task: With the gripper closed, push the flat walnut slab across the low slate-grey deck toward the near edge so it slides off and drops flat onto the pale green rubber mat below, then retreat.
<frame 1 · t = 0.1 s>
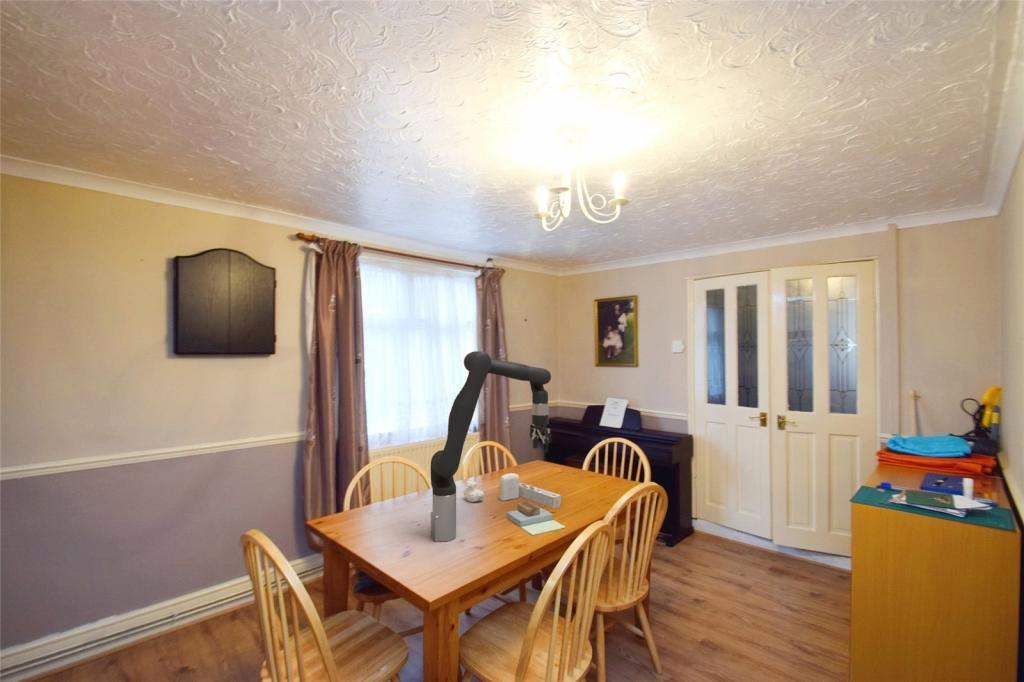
hand: (540, 450, 195), 29 cm above the table, fingers open, 8 cm apart
bust: (472, 501, 214), on the table
deck: (529, 519, 191), on the table
block: (528, 512, 192), point 2 cm above the table, touching deck
photo printer: (509, 499, 218), on the table
box: (536, 500, 216), on the table
mat: (543, 527, 181), on the table
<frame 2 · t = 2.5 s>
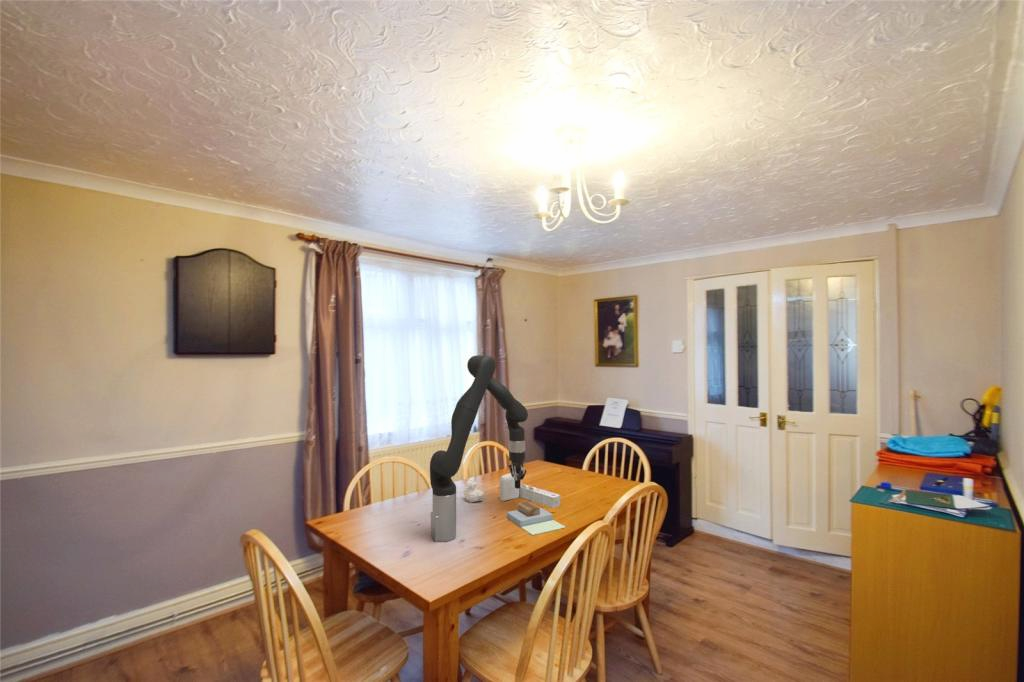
hand: (517, 488, 201), 10 cm above the table, fingers closed
nothing on the table moved.
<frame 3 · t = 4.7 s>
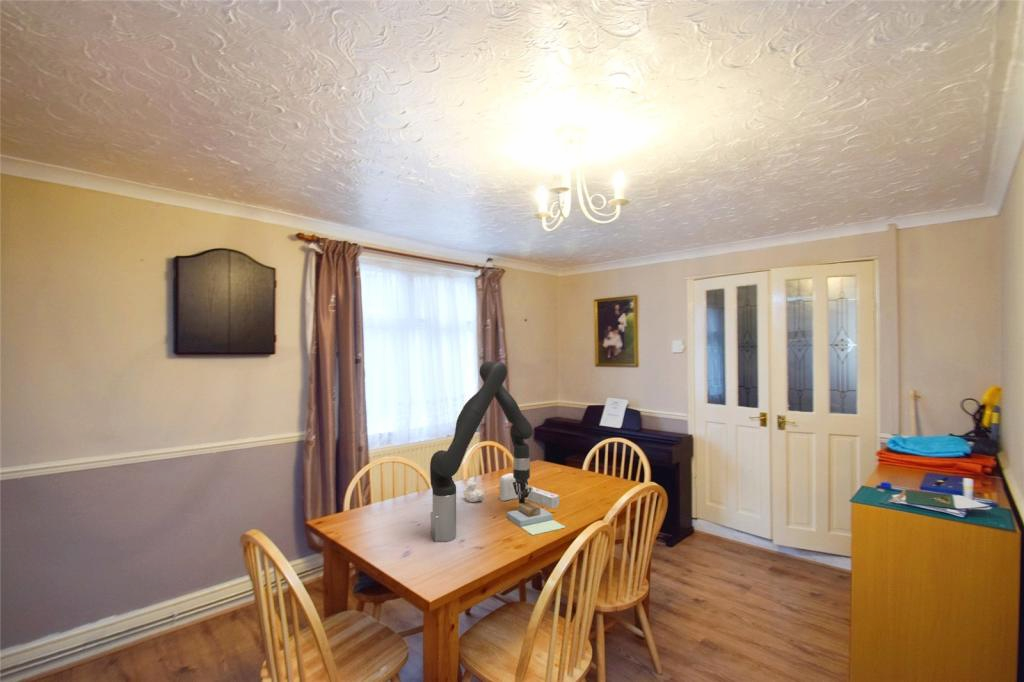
hand: (521, 506, 197), 4 cm above the table, fingers closed
block: (528, 512, 191), point 3 cm above the table, touching gripper
everything else where it was.
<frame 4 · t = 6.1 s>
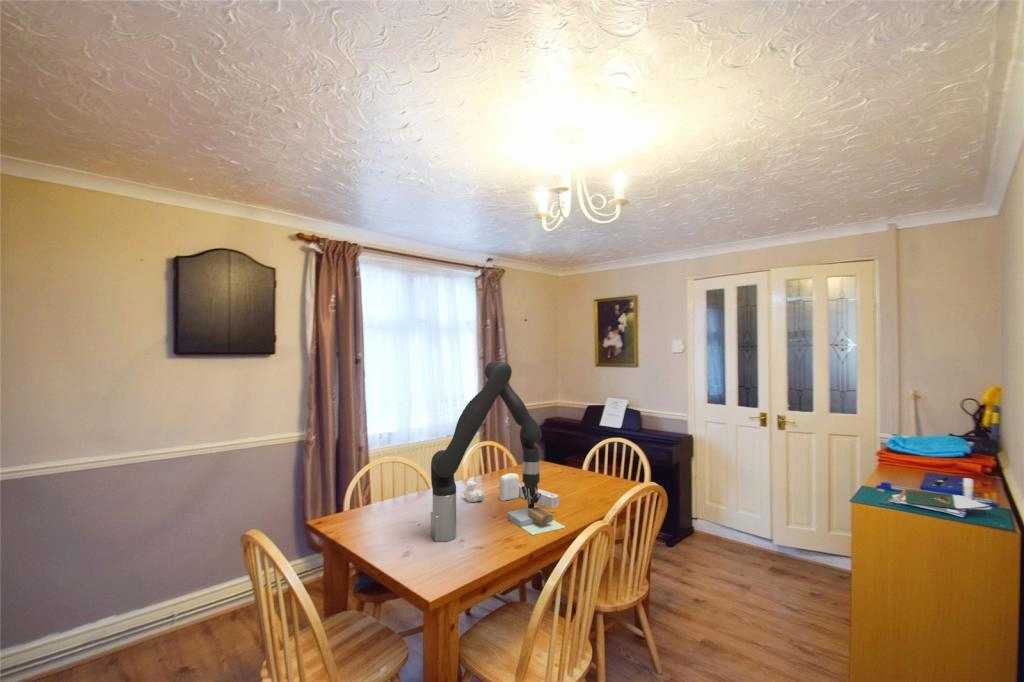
hand: (531, 511, 190), 4 cm above the table, fingers closed
block: (539, 518, 185), point 2 cm above the table, tilted 6°, touching deck, gripper
everything else where it was.
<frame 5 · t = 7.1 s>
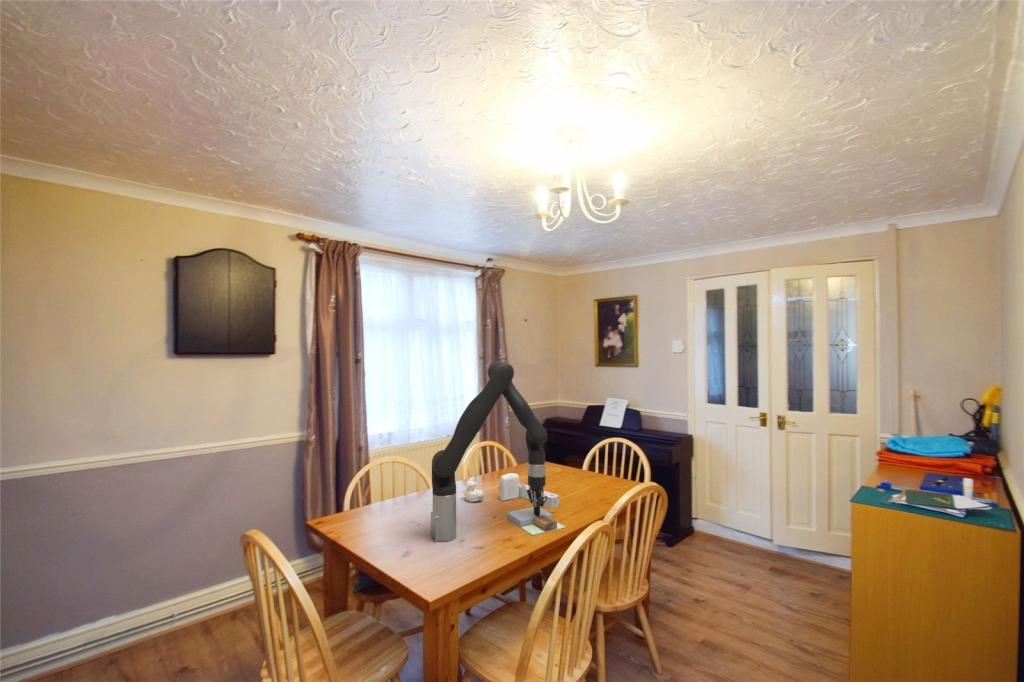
hand: (536, 515, 186), 4 cm above the table, fingers closed
block: (544, 526, 181), resting on mat
everything else where it was.
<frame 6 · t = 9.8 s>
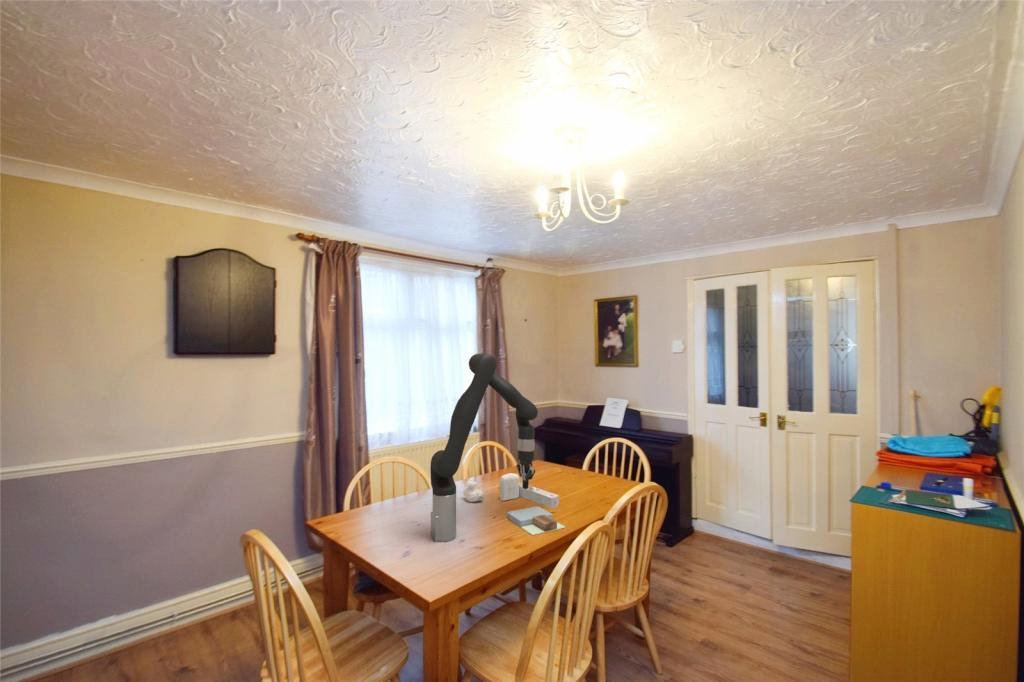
hand: (525, 488, 194), 12 cm above the table, fingers closed
nothing on the table moved.
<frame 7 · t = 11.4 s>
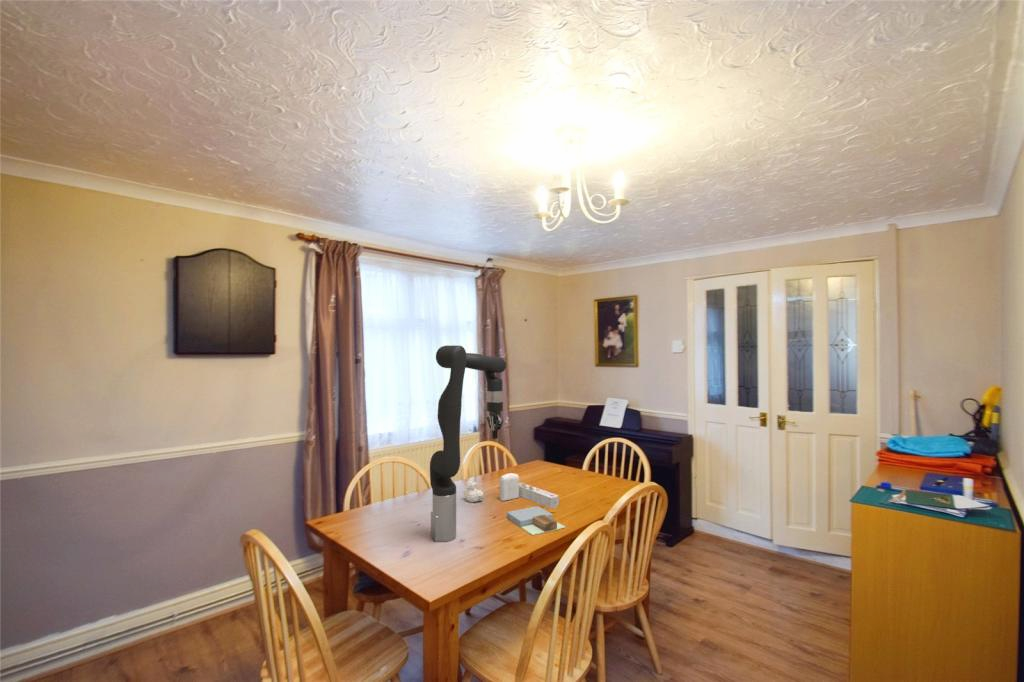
hand: (494, 438, 201), 33 cm above the table, fingers closed
nothing on the table moved.
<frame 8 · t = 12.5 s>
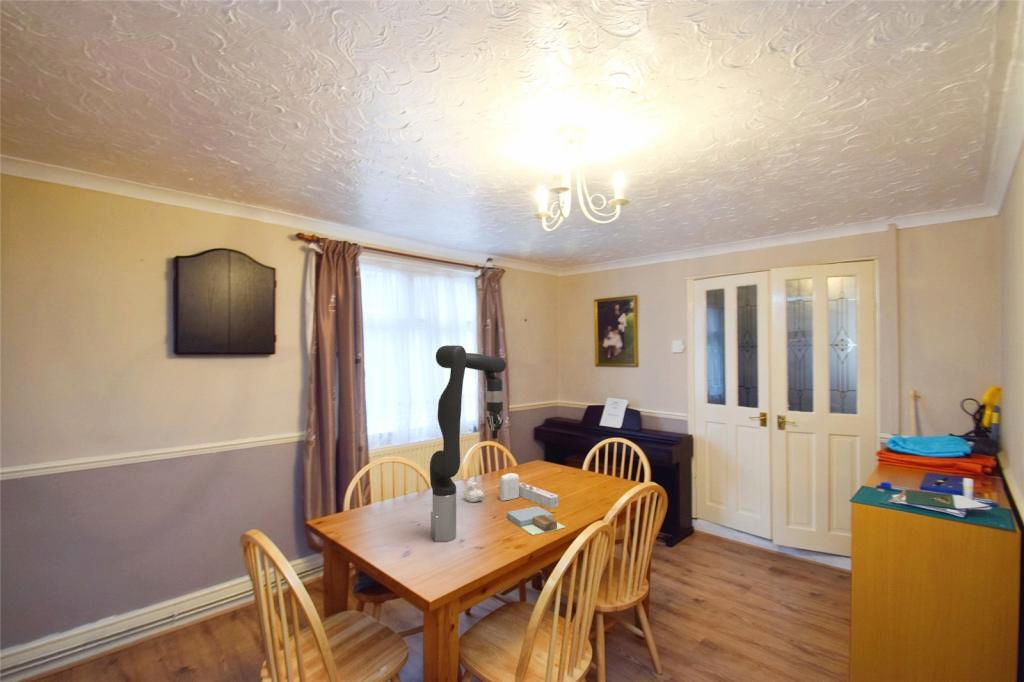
hand: (494, 438, 201), 33 cm above the table, fingers closed
nothing on the table moved.
at the end: block inside the target area on the mat (0.7 cm from its centre), point 0.3 cm above the mat's base; block touching mat; block tilted 0° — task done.
